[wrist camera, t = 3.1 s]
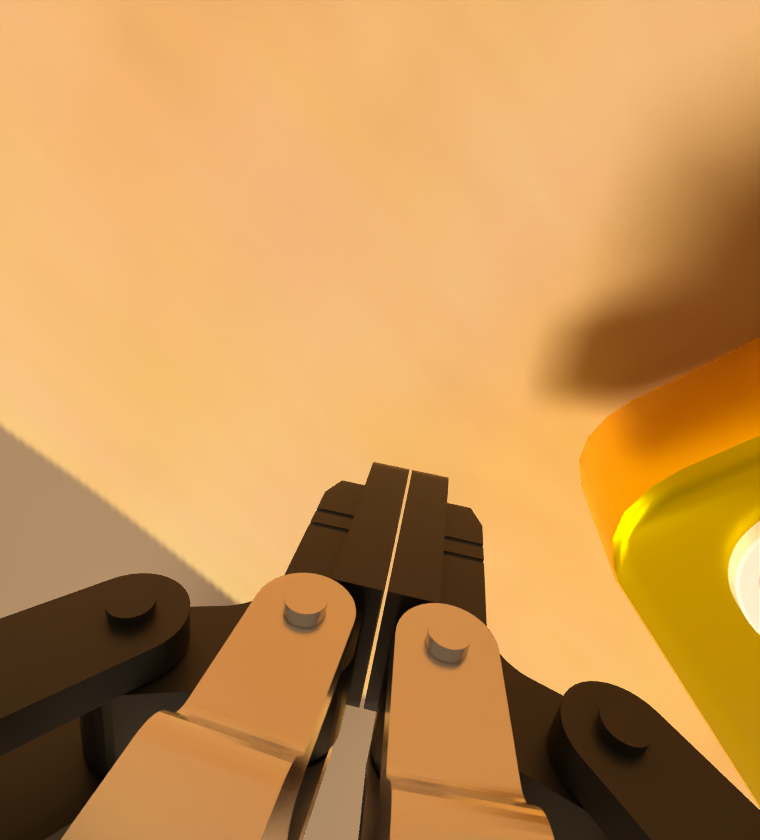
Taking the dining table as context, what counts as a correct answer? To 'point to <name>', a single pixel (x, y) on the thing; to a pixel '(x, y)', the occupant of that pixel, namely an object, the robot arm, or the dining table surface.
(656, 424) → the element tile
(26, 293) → the dining table surface
